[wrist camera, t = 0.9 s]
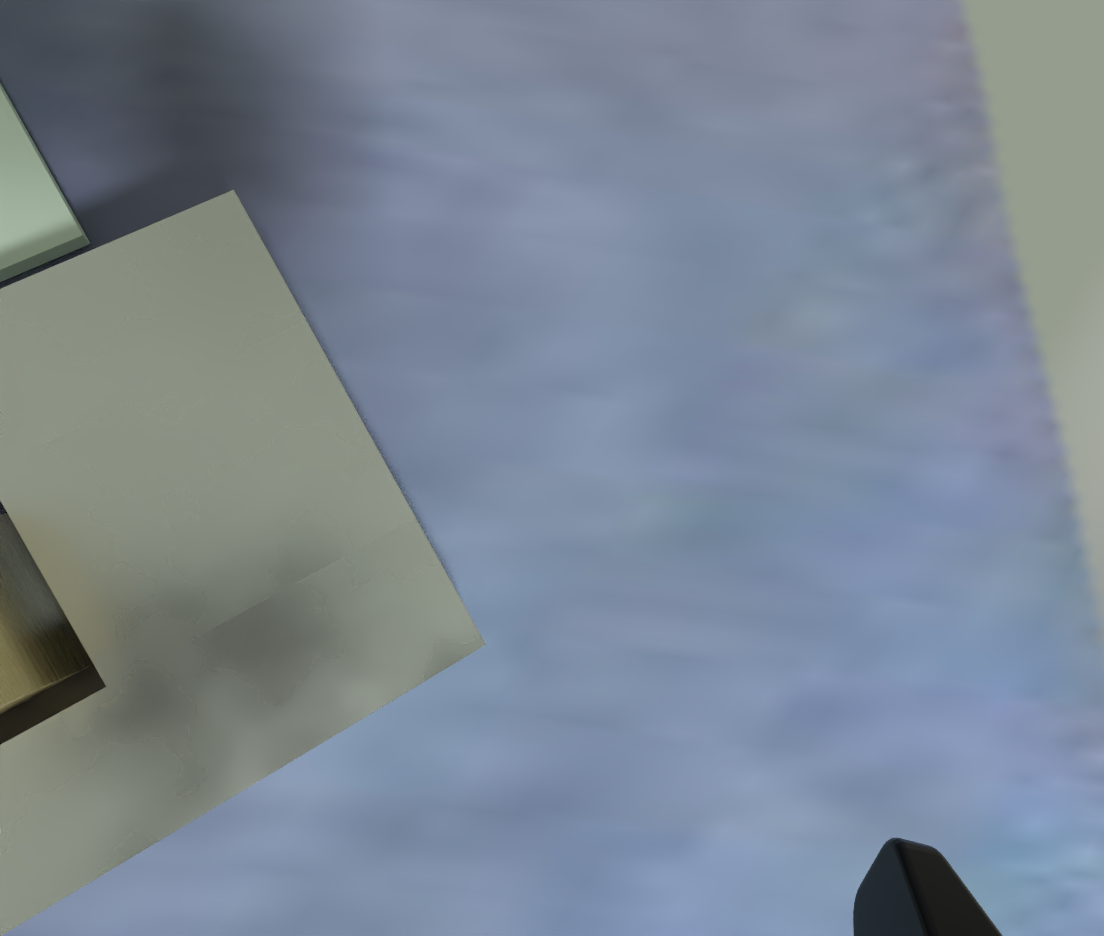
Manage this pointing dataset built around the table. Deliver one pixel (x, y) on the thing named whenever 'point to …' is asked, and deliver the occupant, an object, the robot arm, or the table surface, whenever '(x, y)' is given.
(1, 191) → the sage mat
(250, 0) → the table surface
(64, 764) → the aluminium plate
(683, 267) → the table surface
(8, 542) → the brass peg
